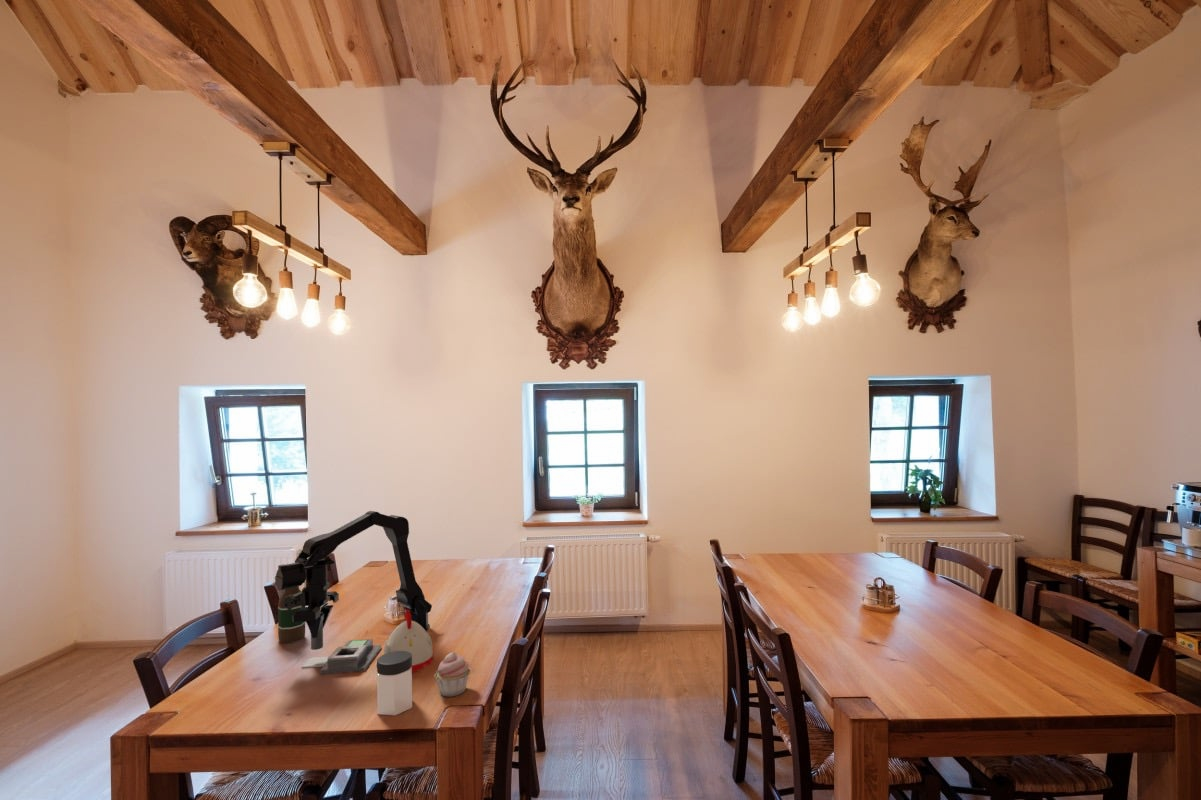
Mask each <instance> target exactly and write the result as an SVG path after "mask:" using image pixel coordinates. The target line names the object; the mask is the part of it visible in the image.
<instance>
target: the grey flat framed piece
mask: <svg viewBox="0 0 1201 800" xmlns="http://www.w3.org/2000/svg"><path fill="white" fill-rule="evenodd" d="M362 640H367V643H366V644H365V645H361V646H348V645H349V644H350V643H351V642H352V641H362ZM380 650H382V644H375V645H374V639H373V638H365V639H352V640H351V639H350V640H348V641H347V642H346V643H345V645H344V646H338V647H337V648H336V649H335V650H334V651H333V652H332V653H331V654H330V655H329V656H327V657H328V662H327V663H326V664H325V666H324V667H322V668H321V669H320V670H319V675H330V674H342V673H343V674H344V673H357V672H366V670H367V669H368V667H369V666H370V665H371V663H372V662H373V660H374V659H375V657H376V656H377V655H378V653H379V652H380Z"/></svg>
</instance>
